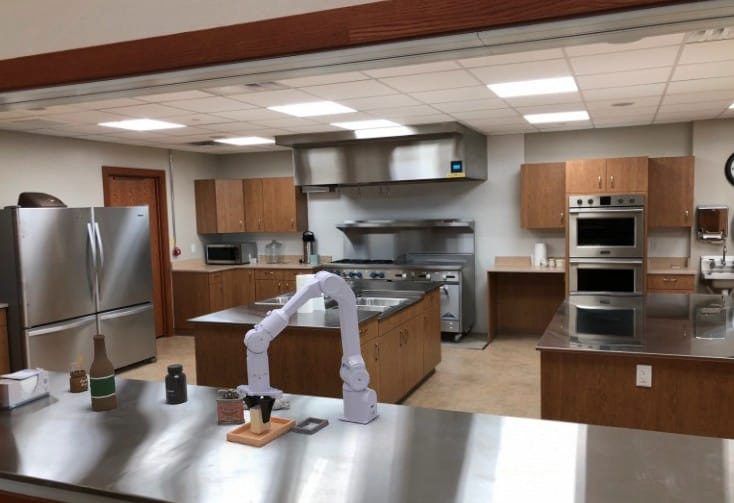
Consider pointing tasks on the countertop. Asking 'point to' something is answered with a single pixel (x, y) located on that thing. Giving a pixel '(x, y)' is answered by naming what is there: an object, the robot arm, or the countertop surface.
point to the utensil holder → (78, 379)
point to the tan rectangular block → (258, 420)
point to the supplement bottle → (175, 384)
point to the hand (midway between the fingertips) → (261, 421)
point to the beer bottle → (102, 378)
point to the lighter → (230, 408)
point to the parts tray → (260, 439)
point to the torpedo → (275, 404)
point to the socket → (311, 431)
